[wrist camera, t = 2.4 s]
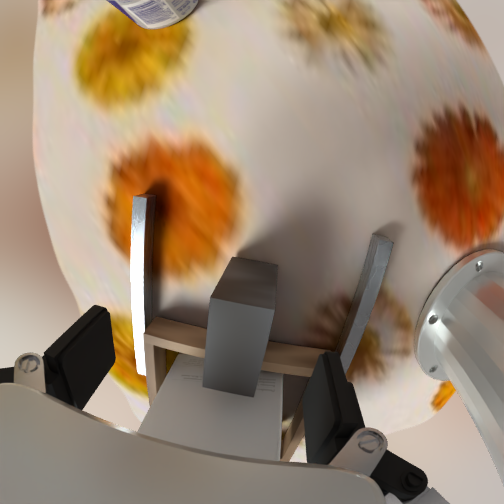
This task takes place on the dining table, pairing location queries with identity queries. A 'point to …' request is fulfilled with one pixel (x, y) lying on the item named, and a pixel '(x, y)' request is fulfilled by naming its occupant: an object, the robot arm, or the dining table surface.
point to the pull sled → (234, 341)
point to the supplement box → (217, 413)
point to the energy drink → (155, 11)
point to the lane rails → (143, 283)
